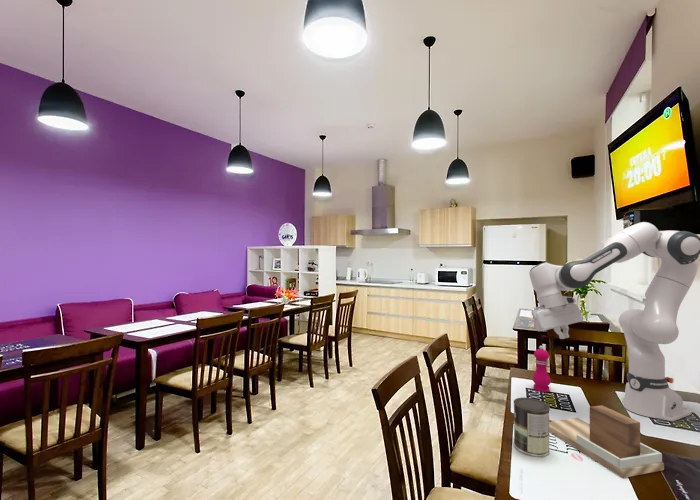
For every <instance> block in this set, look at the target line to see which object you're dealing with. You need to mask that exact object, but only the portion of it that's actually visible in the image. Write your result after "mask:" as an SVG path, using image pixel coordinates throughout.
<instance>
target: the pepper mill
mask: <svg viewBox="0 0 700 500" xmlns="http://www.w3.org/2000/svg"><path fill="white" fill-rule="evenodd" d="M533 356H534V358H535V362H534V363H535V364H536V366H535V367H536V368H535V372H534V373H533V374H532V381H533V383H534V384H533V389H534V391H536V392H540V393H549V392H550V386H549V385H550V384H551V382H552V381H551V377H550V375H549V372H548V370H547V369H548V368H547V366H548V364H549V363H548V361H549V360H548V359H549V358H550V354H549V352H548V351H547V350H546V349H544V346H543V345H539V347H538V348H537V349H535V350H534V352H533Z"/></svg>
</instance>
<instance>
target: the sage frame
mask: <svg viewBox="0 0 700 500" xmlns="http://www.w3.org/2000/svg"><path fill="white" fill-rule="evenodd" d="M577 443H578V444H580V445H581V446H583V447H584V448H586V449H588V450H589V451H591V452H593V453H594V454H596V455H598V456H599V457H601V458H603V459H604V460H606V461H608V462H609V463H611V464H613V465H614V466H616V467H618V468H619V469H621V470H622V469H627V468H633V467H638V466H644V465H649V464H655V463H660V462H663V453H662V452H660V451H659V450H656V449H654V448H652V447H650V446H648V445H646V444H644V443H642V442H640V452H641V453H643V454H644V455H639V456H633V457H627V458H621V459H620V458H619V457H617V456H615V455H613V454H612V453H610V452H608V451H606V450H605V449H603V448H601V447H599V446H598V445H596V444H594V443H593V442H591V441H589V440H587V439H586V438H584V437H582V436H580V435H577Z"/></svg>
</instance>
